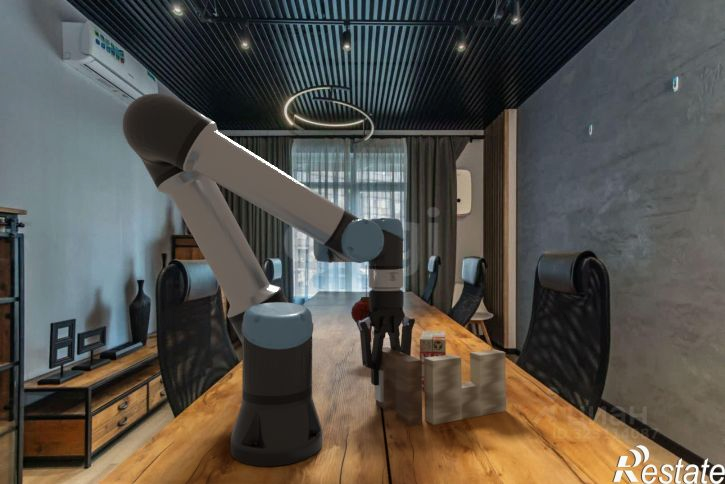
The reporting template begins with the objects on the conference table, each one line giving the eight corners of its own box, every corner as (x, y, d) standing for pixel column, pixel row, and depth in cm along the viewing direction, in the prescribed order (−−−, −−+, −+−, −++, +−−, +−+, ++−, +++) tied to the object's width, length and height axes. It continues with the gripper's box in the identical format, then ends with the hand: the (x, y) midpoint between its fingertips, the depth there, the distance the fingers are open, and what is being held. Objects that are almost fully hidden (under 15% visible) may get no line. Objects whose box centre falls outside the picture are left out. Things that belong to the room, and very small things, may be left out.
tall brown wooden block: (408, 426, 80) (408, 361, 81) (375, 403, 93) (375, 348, 93) (422, 423, 81) (421, 360, 82) (387, 401, 94) (387, 347, 95)
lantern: (352, 358, 137) (352, 264, 138) (381, 358, 136) (381, 264, 138) (350, 365, 127) (350, 265, 129) (381, 365, 127) (381, 264, 128)
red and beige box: (424, 367, 125) (424, 325, 126) (446, 368, 124) (445, 325, 124) (419, 388, 104) (419, 338, 105) (445, 390, 103) (445, 338, 103)
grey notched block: (433, 424, 81) (432, 360, 81) (424, 419, 83) (424, 357, 84) (506, 410, 88) (505, 352, 89) (496, 406, 91) (495, 349, 91)
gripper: (359, 291, 86) (359, 409, 85) (427, 289, 92) (428, 398, 91) (345, 289, 93) (345, 398, 91) (409, 287, 99) (410, 389, 98)
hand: (386, 398), depth 91 cm, fingers closed on tall brown wooden block, 3 cm apart
